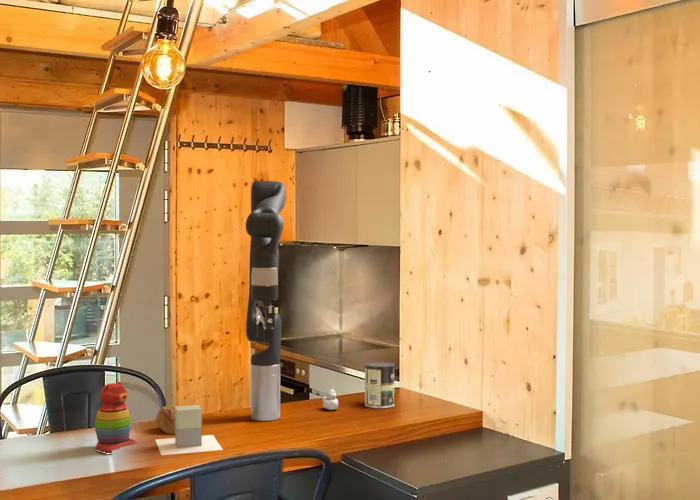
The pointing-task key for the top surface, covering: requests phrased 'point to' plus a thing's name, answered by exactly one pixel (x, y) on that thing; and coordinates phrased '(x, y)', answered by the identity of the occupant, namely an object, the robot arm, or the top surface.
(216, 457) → the top surface
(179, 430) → the slate brick
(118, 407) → the stacking bear
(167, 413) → the bread roll
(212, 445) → the baseplate
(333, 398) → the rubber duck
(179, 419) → the sage brick
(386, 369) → the coffee can
